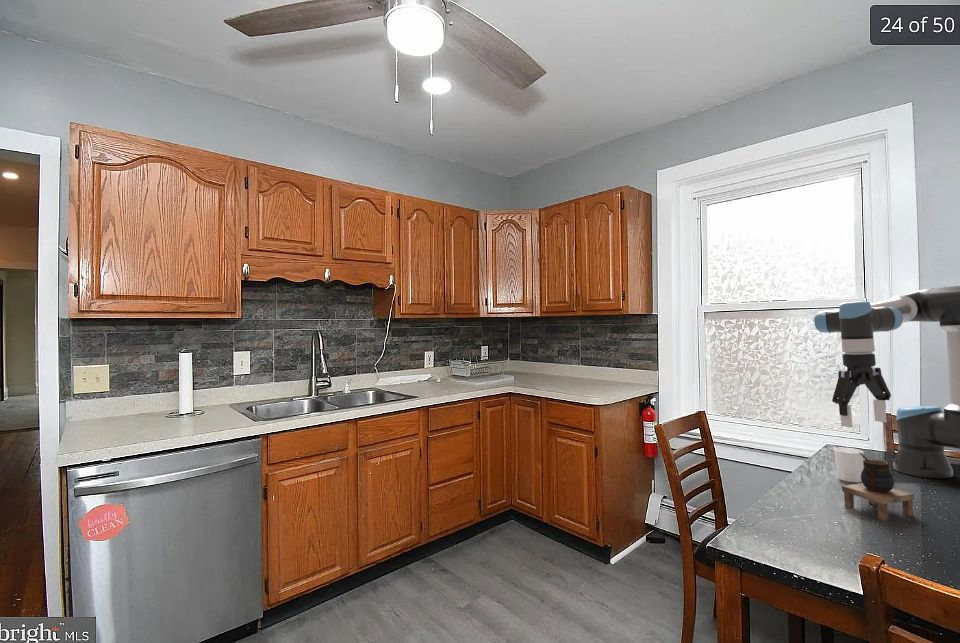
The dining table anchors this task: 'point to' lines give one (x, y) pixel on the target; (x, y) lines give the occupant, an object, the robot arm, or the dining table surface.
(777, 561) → the dining table surface
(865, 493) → the walnut stool
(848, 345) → the robot arm
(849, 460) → the white cup
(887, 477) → the mate gourd
